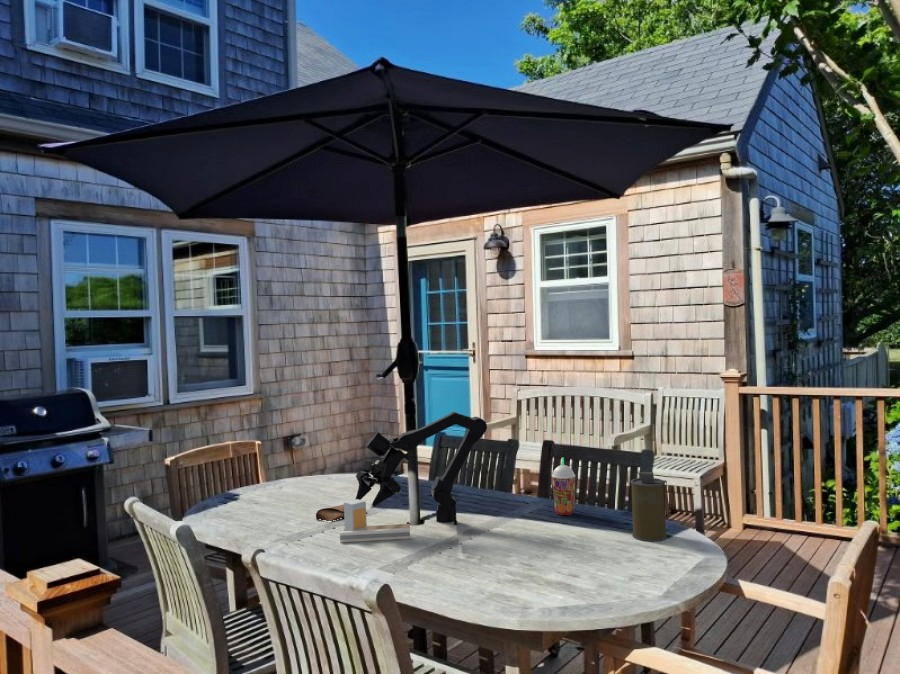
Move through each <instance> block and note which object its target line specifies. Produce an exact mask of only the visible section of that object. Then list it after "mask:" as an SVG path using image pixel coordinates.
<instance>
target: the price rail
mask: <svg viewBox="0 0 900 674" xmlns="http://www.w3.org/2000/svg"><path fill="white" fill-rule="evenodd" d="M410 528H411V527H410ZM410 528H397V529H378V530H360V531H344V530H342V531H340V532H339V541H340V542H353V543H356V542H355V541H371V542H374V541H373V540H389V541H393V540H392V539H407V540H410V539H411V538H410V537H411V531H410V530H411V529H410ZM340 542H339V543H340Z"/></svg>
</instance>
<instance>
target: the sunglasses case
mask: <svg viewBox="0 0 900 674" xmlns="http://www.w3.org/2000/svg"><path fill="white" fill-rule="evenodd" d="M366 514H368V512H367V511H366ZM340 518H344V504H340V505H334V506H331V507H326V508H325V507H324V508H320V509H319V510H317V511H316V513H315V520H317V519H321V520H326V521H333V520H337V519H340Z"/></svg>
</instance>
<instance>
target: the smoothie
mask: <svg viewBox="0 0 900 674" xmlns="http://www.w3.org/2000/svg"><path fill="white" fill-rule="evenodd" d="M551 480H552V481H551V483H552V492H553V502H554V504H553V505H554V511H555V513H556V514H557V515H558V514H559V515H558V516H563V515H567V516H572V515H573V513H574V511H575V502H576V501H575V500H576V499H575V498H576V497H575V495H576V474H575V473H574V470H573V469H572V468H571V466H568V465H566V464H565V458H564V457H561V464H560V465H558V466H557V467H555V469H554V470H553V471H552V474H551Z"/></svg>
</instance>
